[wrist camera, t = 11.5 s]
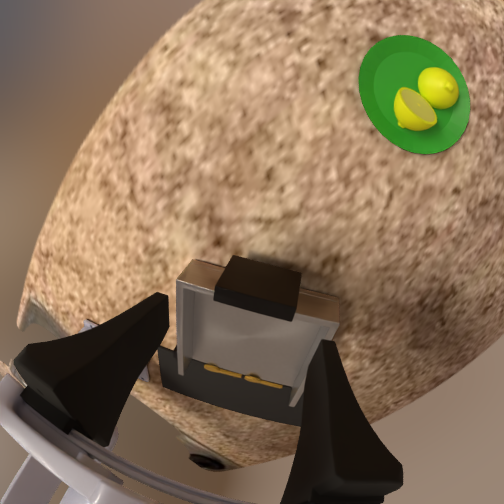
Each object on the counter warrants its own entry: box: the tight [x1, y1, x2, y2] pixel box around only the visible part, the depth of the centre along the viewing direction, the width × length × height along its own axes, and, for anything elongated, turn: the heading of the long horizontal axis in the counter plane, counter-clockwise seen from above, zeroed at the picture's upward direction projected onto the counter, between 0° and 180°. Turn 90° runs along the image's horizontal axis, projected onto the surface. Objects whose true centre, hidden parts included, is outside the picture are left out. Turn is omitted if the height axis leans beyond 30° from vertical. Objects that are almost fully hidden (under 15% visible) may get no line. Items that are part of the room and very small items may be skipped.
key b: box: [244, 376, 283, 388], centre depth 27 cm, size 4×2×1 cm, turn 73°
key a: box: [204, 364, 242, 378], centre depth 28 cm, size 4×2×1 cm, turn 78°
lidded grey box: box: [176, 255, 340, 407], centre depth 22 cm, size 14×12×5 cm
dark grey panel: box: [157, 346, 304, 427], centre depth 30 cm, size 20×9×1 cm, turn 80°
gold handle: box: [173, 345, 304, 395], centre depth 27 cm, size 1×15×1 cm, turn 80°
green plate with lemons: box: [359, 35, 470, 154], centre depth 12 cm, size 8×8×3 cm
